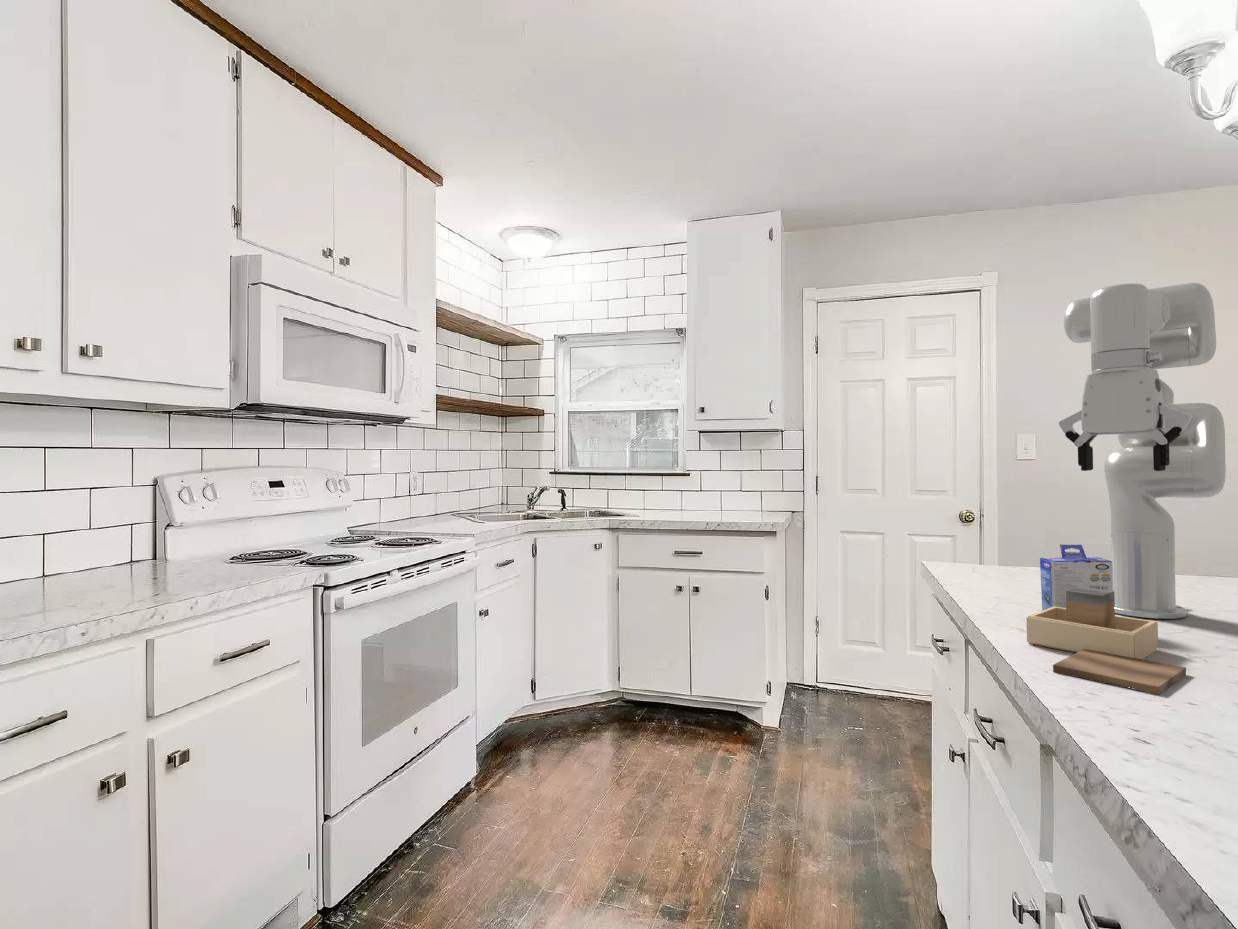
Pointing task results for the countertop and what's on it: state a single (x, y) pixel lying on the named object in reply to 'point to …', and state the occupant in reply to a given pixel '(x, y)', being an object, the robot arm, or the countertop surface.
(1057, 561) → the ink cartridge box
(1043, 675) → the countertop surface
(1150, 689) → the board
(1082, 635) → the wooden box
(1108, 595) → the block
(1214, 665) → the countertop surface
